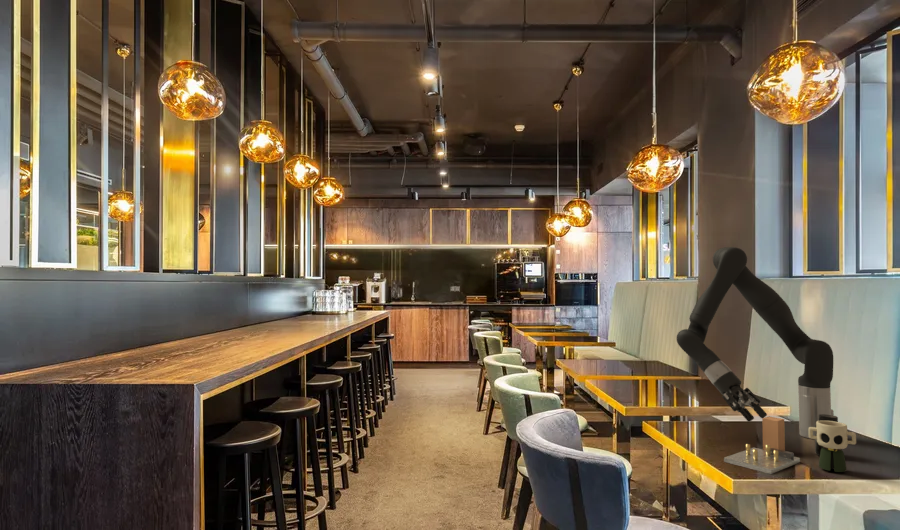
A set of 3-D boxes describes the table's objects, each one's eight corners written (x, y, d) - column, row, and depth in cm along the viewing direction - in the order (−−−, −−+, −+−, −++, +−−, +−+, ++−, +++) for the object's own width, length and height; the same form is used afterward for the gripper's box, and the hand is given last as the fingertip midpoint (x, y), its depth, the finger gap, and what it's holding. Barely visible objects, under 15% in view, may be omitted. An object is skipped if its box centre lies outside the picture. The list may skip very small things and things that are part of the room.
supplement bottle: (834, 460, 162) (833, 419, 162) (810, 454, 168) (809, 414, 168) (847, 457, 165) (846, 416, 165) (823, 451, 171) (822, 412, 171)
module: (769, 448, 174) (769, 416, 174) (784, 451, 170) (784, 419, 171) (762, 450, 171) (762, 418, 172) (778, 454, 167) (777, 421, 168)
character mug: (808, 469, 153) (807, 422, 153) (809, 463, 158) (808, 418, 159) (857, 478, 146) (856, 428, 147) (856, 470, 152) (855, 423, 153)
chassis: (753, 451, 170) (753, 437, 170) (799, 462, 160) (799, 447, 160) (723, 461, 160) (723, 447, 160) (771, 474, 149) (770, 458, 149)
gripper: (718, 372, 178) (756, 414, 169) (740, 368, 187) (777, 408, 177) (703, 386, 182) (738, 428, 173) (725, 382, 191) (760, 422, 181)
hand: (758, 418), depth 175 cm, fingers open, 8 cm apart
